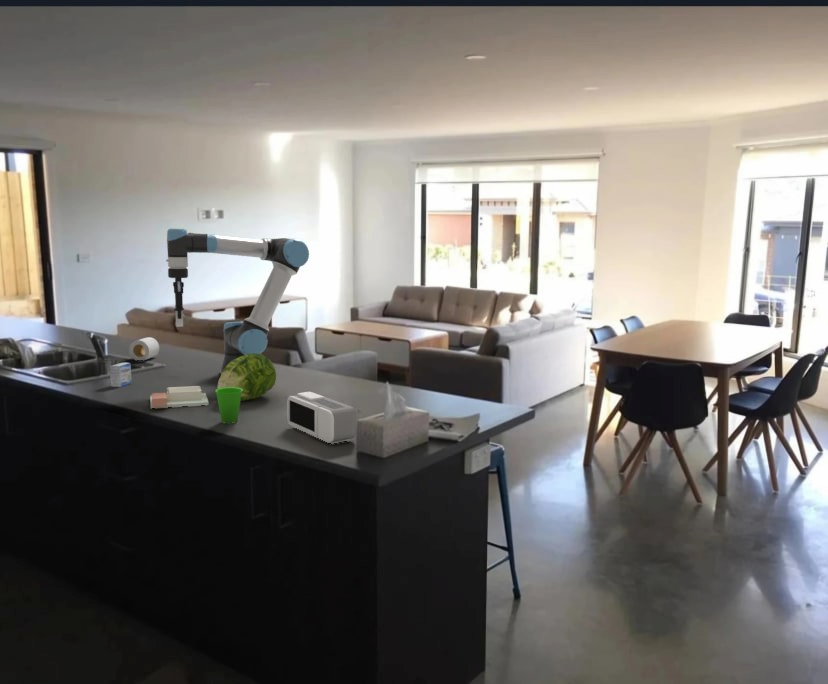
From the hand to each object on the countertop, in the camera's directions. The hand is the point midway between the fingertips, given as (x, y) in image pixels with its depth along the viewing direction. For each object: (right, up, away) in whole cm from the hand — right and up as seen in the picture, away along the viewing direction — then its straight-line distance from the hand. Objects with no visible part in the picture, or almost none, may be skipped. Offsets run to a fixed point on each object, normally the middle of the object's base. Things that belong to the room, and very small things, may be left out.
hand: (179, 326), depth 295 cm
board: (+7, -29, -23) cm, 37 cm away
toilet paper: (-35, -15, +58) cm, 69 cm away
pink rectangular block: (+2, -29, -30) cm, 42 cm away
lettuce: (+30, -28, -16) cm, 45 cm away
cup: (+32, -33, -47) cm, 66 cm away
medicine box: (-25, -24, +3) cm, 34 cm away
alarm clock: (+64, -36, -60) cm, 95 cm away
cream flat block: (+8, -27, -20) cm, 34 cm away
